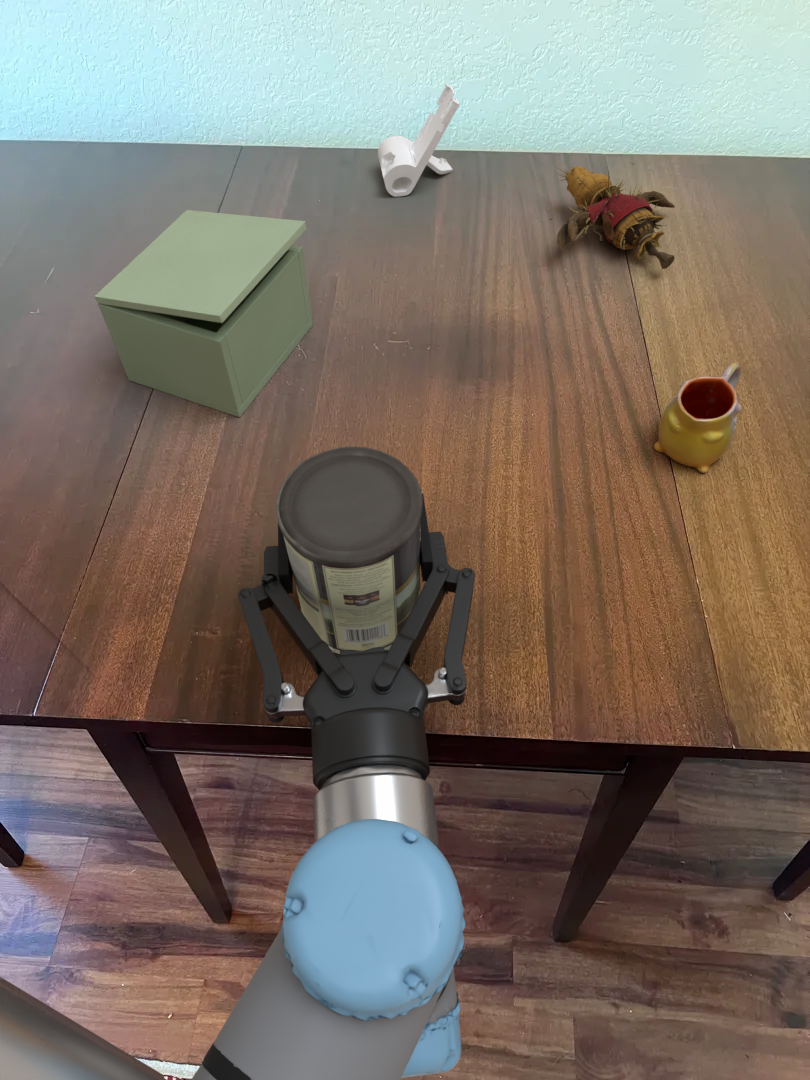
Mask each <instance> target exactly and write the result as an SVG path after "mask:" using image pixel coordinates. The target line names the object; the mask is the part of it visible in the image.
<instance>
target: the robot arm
mask: <svg viewBox="0 0 810 1080" xmlns="http://www.w3.org/2000/svg"><path fill="white" fill-rule="evenodd" d="M422 501H423V503H422V514H421V518H420V535H421V536H420V538H421V539H420V574H421V579H422V583H424V585H423V586H422V589H421V590H420V595H419V597H418V599H417V601H416V602H415V604H414V606H413V608H412V610H411V612H410V614H409V616H408V618H407V620H406V622H405V624H404V626H403V628H402V630H401V632H400V633H399V634H397V636H396V638H395V639H394V641H393V643H392V645H391V647H390V649H389V650H384V647H374V648H371V649H368V650H365V651H356V650H342V651H340V654H336V653H334V652H332V650H331V649H330V648H329V646H328V645H327V644H326V642H325V641H323V640H322V639H321V638H320V637H319V635H318V634H317V633H316V631H315V630H314V628H313V627H312V626H311V624H310V623H309V622H308V620H307V619H306V618H305V616H304V615H303V614H302V612H301V609H300V608H299V607H298V606H297V604H296V602H295V601H294V600H293V598H292V597H291V596H290V595H291V594H294V577H293V572H292V568H291V564H290V560H289V556H288V552H287V548H286V544H285V540H284V536H283V534H282V531H281V529H280V526H279V524H278V523H277V545H271V546H269V545H268V546H266V548H265V549H264V551H263V575H262V576H261V578H260V582H261V583H260V584H259V585H257V586H256V587H253V588H251V587H249V586H248V587H242V588H241V589H240V590H239V591H238V593H237V598H238V602H239V604H240V607H241V610H242V613H243V617H244V620H245V623H246V626H247V629H248V633H249V634H250V639H251V641H252V645H253V647H254V648H253V649H254V650H255V653H256V657H257V660H258V663H259V667H260V668H261V672H262V675H263V687H262V688H263V689H262V705H263V709H264V710H265V713H266V716H267V719H268V720H269V721H270V722H272V723H274V724H278V723H279V724H280V723H281V722H282V721H284V719H285V717H303V716H304V717H305V718H306V719H307V720H308V722H309V725H310V735H311V762H312V763H311V764H312V765H311V767H312V768H311V769H312V784H313V785H314V786H315V787H316V789H317V790H318V791H317V792H316V793H315V795H314V796H313V800H312V802H313V803H312V804H313V806H312V807H313V828H314V829H313V830H314V831H313V834H314V835H313V836H314V843H313V844H312V845H311V846H310V847H309V848H308V849H307V850H306V852H305V853H304V854H303V855H302V857H301V858H300V860H298V863H297V864H296V866H295V867H294V870H293V872H292V874H291V877H290V879H289V882H288V885H287V887H286V892H285V900H284V904H283V909H282V918H283V919H282V924H281V926H280V930H279V931H278V933H277V935H276V937H275V938H274V940H273V942H272V943H271V945H270V947H269V948H268V949H267V952H266V954H265V955H264V957H263V958H262V960H261V962H260V964H259V965H258V966H257V969H256V971H255V972H254V973H253V975H252V977H251V978H250V980H249V982H248V984H247V985H246V987H245V989H244V990H243V992H242V994H241V995H240V996H239V999H238V1001H237V1003H236V1004H235V1006H234V1007H233V1009H232V1011H231V1012H230V1014H229V1015H228V1018H227V1019H226V1020H225V1022H224V1024H223V1026H222V1027H221V1029H220V1031H219V1033H218V1035H217V1036H216V1038H215V1039H214V1041H213V1042H212V1044H211V1045H210V1047H209V1049H208V1051H207V1052H206V1053H205V1055H204V1057H203V1059H202V1061H201V1064H200V1065H199V1067H198V1069H197V1070H196V1071H195V1073H194V1074H193V1076H192V1077H191V1079H190V1080H401V1079H404V1078H405V1079H406V1078H413V1077H421V1076H422V1077H423V1076H428V1075H435V1074H442V1073H446V1072H449V1071H451V1070H453V1068H454V1067H456V1065H457V1064H458V1062H459V1061H460V1059H461V1054H462V1040H461V1039H462V1038H461V1037H462V1036H461V1025H460V1013H461V1007H462V1006H461V1003H460V998H459V993H458V991H457V986H456V985H457V984H456V976H455V969H454V966H455V964H456V963H457V962H458V960H459V958H461V957H462V953H463V948H464V945H465V937H464V936H465V935H464V930H465V928H466V927H467V925H466V921H465V917H464V912H465V909H464V906H463V898H462V896H461V893H460V888H459V885H458V880H457V879H456V876H455V874H454V871H453V869H452V867H451V865H450V863H449V861H448V860H447V858H446V857H445V856H444V854H443V852H442V851H441V850H440V849H441V848H440V841H439V840H440V839H439V833H438V825H437V824H438V823H437V817H436V808H435V798H434V792H433V791H434V790H433V787H432V785H431V784H430V783H429V782H428V781H427V778H428V777H429V775H430V772H431V767H430V758H429V750H428V741H427V733H426V732H427V731H426V725H425V724H426V723H425V713H426V710H427V708H428V705H429V704H433V703H440V702H445V701H446V702H447V701H448V702H449V703H450V704H451V705H453V706H460V705H462V704H463V703H464V701H465V700H466V691H467V683H468V682H467V676H466V673H465V669H464V664H463V656H464V650H465V644H466V637H467V632H468V626H469V621H470V613H471V607H472V601H473V595H474V587H475V579H476V573H475V571H474V570H473V569H472V568H470V567H463V568H461V569H457V568H454V567H453V566H451V565H450V564H449V560H448V555H447V548H446V541H445V536H444V535H443V533H442V532H441V531H429V530H430V529H429V525H428V517H427V511H426V503H425V496H424V492H423V493H422ZM449 593H453V594H454V598H453V604H452V610H451V616H450V621H449V626H448V631H447V638H446V643H445V647H444V648H445V649H444V658H443V666H441V667H439V668H438V669H436V670H435V672H434V674H433V679H432V681H430V682H429V683H428V684H426V683H425V682H424V681H423V679H421V678H420V677H419V676H418V675H417V674H416V672H415V671H413V670H412V669H411V668H412V666H413V665H414V661H415V658H416V655H417V653H418V650H419V648H420V647H421V645H422V643H423V641H424V639H425V637H426V635H427V633H428V630H429V628H430V627H431V625H432V622H433V620H434V619H435V617H436V615H437V613H438V610H439V608H440V606H441V605H442V602H443V600H444V598H445V597H446V595H448V594H449ZM269 608H270V610H271V611H272V612H273V614H274V615H275V617H276V618H277V619H278V621H279V622H280V623H281V625H282V626H283V628H284V629H285V630H286V632H287V633H288V635H289V636H290V637H291V639H292V640H293V642H294V643H295V644H296V646H297V647H298V648H299V650H300V651H301V653H302V654H303V656H304V657H305V658H306V660H307V661H308V663H309V664H310V665H311V668H312V669H313V671H314V672H315V674H316V676H317V677H316V679H315V680H314V681H313V682H312V683H311V686H310V687H309V688H308V690H307V691H306V693H305V694H304V695H303V696H302V695H299V694H298V693H297V692H296V688H295V686H294V685H293V683H290V682H285V679H284V676H283V673H282V669H281V666H280V663H279V660H278V658H277V654H276V652H275V648H274V646H273V643H272V640H271V637H270V634H269V631H268V628H267V626H266V623H265V620H264V616H263V614H262V611H265V610H267V609H269ZM0 1080H167V1078H165V1076H164V1075H163V1073H161V1072H159V1071H158V1070H156V1069H154V1068H153V1067H151V1066H150V1065H149V1064H146V1063H145V1062H143V1061H141V1060H139V1058H136V1057H135V1056H133V1055H131V1054H129V1053H128V1052H126V1051H124V1050H123V1049H121V1048H119V1047H118V1046H116V1045H115V1044H113V1043H111V1042H110V1041H108V1040H106V1039H105V1038H103V1037H101V1036H99V1035H98V1034H96V1033H95V1032H93V1031H91V1030H90V1029H88V1028H87V1027H84V1025H81V1024H80V1023H79V1022H76V1021H75V1020H73V1019H72V1018H70V1017H68V1016H66V1015H65V1014H63V1013H61V1012H60V1011H59V1010H57V1009H55V1008H53V1007H51V1006H50V1005H48V1004H46V1003H45V1002H43V1001H42V1000H40V999H38V998H36V997H35V996H33V995H31V993H28V992H26V991H25V990H23V989H21V988H20V987H18V986H16V985H15V984H13V983H12V982H10V981H8V980H7V979H5V978H3V977H2V976H0Z"/></svg>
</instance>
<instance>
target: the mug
mask: <svg viewBox="0 0 810 1080" xmlns="http://www.w3.org/2000/svg"><path fill="white" fill-rule="evenodd" d="M741 374H742V366H741V364H740V363H739V362H737V361H736V362H735V361H734V362H731V363H730V364H728V365H727V366H726V368H725V369H724V371H723V372H722V374H721V375H720V376H718V377H716V376H699V377H694V378H691V379H688V380H686V381H684V382H683V383H682V385H681V386H680V389H679V391H678V393H677V394H676V395H675V396H673V397H672V399H671V401H670V402H669V403H668V404H667V405H666V407H665V408H664V410H663V412H662V415H661V417H660V421H659V425H658V429H657V431H658V432H657V437H658V440H657V441H656V442H655V443H654V445H653V448H654V450H655V451H656V452H657V453H664V454H665V455H666V456H667V457H669V458H670V459H671V460H673V461H674V462H676V463H678V464H680V465H683V466H687V467H691V468H694V469H696V470H697V471H699V472H700V473H702V474H706V473H707V472H709V470H710V466H711V465H712V464H714V463H715V462H717V461H718V460H719V459H720V458H722V457H723V456H724V454H726V452H727V451H728V449H729V448H730V446H731V444H732V442H733V440H734V435H735V432H736V429H737V426H736V424H737V420H738V417H736V416H737V415H739V413H741V411H742V407H743V406H742V404H741V403H739V400H738V397H737V392H736V390H735V388H736V386H737V384H738V382H739V380H740V378H741Z"/></svg>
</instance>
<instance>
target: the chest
mask: <svg viewBox="0 0 810 1080" xmlns="http://www.w3.org/2000/svg"><path fill="white" fill-rule="evenodd" d="M309 292H310V291H309V285H308V278H307V270H306V265H305V255H304V250H303V247H302V246H299V245H295V244H293V245H292V246H291V247H290V248H289V249H288V250H287V251H286V252H285V254H284V255H283V256H282V257H281V258H280V259H279V260H278V261H277V263H276V264H275V265H274V266H273V267H272V268H271V269H270V270H269V271H268V273H267V274H266V275H265V276H264V277H263V278H262V279H261V280H260V282H259V283H258V284H257V285H256V286H255V287H254V288H253V289H252V290H251V292H250V293H249V294H248V295H247V296H246V297H245V298H244V299H243V301H242V302H241V303H240V304H239V305H238V306H237V307H236V308H235V309H234V311H233V312H232V313H231V314H230V315H229V316H228V317H227V318H226V320H225V321H224V322H223V323H219V322H212V321H206V320H200V319H194V318H187V317H181V316H175V315H169V314H162V313H156V312H150V311H144V310H137V309H131V308H125V307H119V306H112V305H106V304H100V303H98V302H97V304H98V308H99V310H100V312H101V315H102V317H103V320H104V323H105V325H106V328H107V330H108V333H109V335H110V337H111V340H112V342H113V344H114V347H115V350H116V352H117V355H118V357H119V360H120V362H121V364H122V367H123V369H124V372H125V374H126V377H127V379H128V381H130V382H132V383H135V384H138V385H142V386H145V387H147V388H151V389H154V390H156V391H160V392H163V393H166V394H168V395H171V396H174V397H177V398H180V399H183V400H186V401H189V402H192V403H195V404H198V405H201V406H205V407H208V408H211V409H213V410H215V411H219V412H222V413H224V414H227V415H231V416H234V417H237V418H241V417H242V415H243V414H244V413H245V412H246V411H247V409H248V408H249V407H250V406H251V404H252V403H253V401H254V400H255V399H256V398H257V396H258V395H259V394H260V393H261V391H262V390H263V389H264V388H265V386H266V385H267V384H268V382H269V381H270V380H271V379H272V377H273V376H274V375H275V374H276V372H277V371H278V370H279V369H280V367H281V366H282V365H283V364H284V362H285V361H286V360H287V359H288V357H289V356H290V354H291V353H292V352H293V351H294V350H295V349H296V347H297V346H298V345H299V343H300V342H301V341H302V339H303V338H304V337H305V336H306V335H307V333H308V332H309V331H310V330H311V328H312V327H313V325H314V323H313V315H312V308H311V307H312V306H311V300H310V293H309Z"/></svg>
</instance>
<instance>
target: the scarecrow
mask: <svg viewBox="0 0 810 1080" xmlns="http://www.w3.org/2000/svg"><path fill="white" fill-rule="evenodd" d="M629 164H632V165H633V166H635V163H634V162H631V161H630V162H629ZM554 168H556V169H557V170H559V171H561V174H559V173H557V175H558V176H560V177H562V178H564V179H561V180H559V181H561V182H562V181H566V182H567V186H566V191H567V192H569V193H570V194H571V196H572V197H573V199H574V202H575V204H576V206H577V210H578V211H577V210H574V209H572V208H571V207H570V206H568V209H569V210H570V211H571V212H572V213H574V214H572V215H571V216H570V218H569V219H568V220H567V221H566V223H563V225H561V227H560V228H559V231H558V233H557V236H556V243H557V244H558V245H557V246H558V247H559V249H560V250H561V251H562V250H563V249H564V246H566V245H569V244H570V243H571V242H574V241H575V240H577V239H578V238H579V237H581V235H582V234H583V233H584V235H586V234H587V231H588V230H589V229H588V228H590V227H592V229H593V231H592V232H590V234H593V232H594V233H596V234H597V235H599V241H601V242H603V241H604V237H605V239H606V240H607V241H608V242H609V243H610V244H611V245H613V246H614V247H615V248H618V249H621V250H623V251H625V250H633V249H635V248H638V247H639V248H638V250H637V252H636V256H637V259H638V260H641V259H644V258H645V255H646V254H648V256H650V257H652V258H654V257H655V258H657V260H658V261H659V264H660V267H661V269H662V270H665V269H667V268H669V267H670V266H671V265H672V264H673V263H674V262H675V255H674V254H669V253H667V252H664V251H659V250H658V249H657V248H661V246H660V241H659V239H660V238H662V236H663V235H665V232H664V231H662V230H660V229H661V228H660V227H666V226H667V224H661V223H660V222H661V221H663V220H665V219H664V218H665V216H661V215H659V216H658V215H654V214H655V213H657V212H661V210H662V208H669V209H670V208H671V209H674V208H676V205H675V204H674V203H672V202H671V201H669V200H668V198H667V197H666V196H665V195H664V194H663V193H662V192H659V191H656V190H652V191H645V192H644V191H643V190H641V188H642V185H641V187H640V188H639V189H638V191H637V193H636V189H637V185H638V184H636V185H635V187H634V189H633V192H632V188H630V189H629V193H628V194H627V193H622V191H624V190H626V188H623V187H624V185H625V184H626V182H627V181H628V179H626V181H625V182H624V181H623V180H624V179H622V180H621V182H619V185H618V183H616V184H615V185H614V184H613V183H612V180H611V178H610V174H605V173H599V172H597V173H595V172H593V171H592V172H591V171H590V170H588V169H586V168H585V167H582V166H578V165H577V166H573V167H571V168H570V170H569V171H567V170H566V168H565V167H563V168H564V170H563V169H562V168H558V167H554ZM617 185H618V186H617ZM621 188H623V189H621ZM550 205H551V204H549V205H548V207H547V209H546V211H547V212H548V211H549V209H550ZM652 206H654V209H656V208H657V207H658V208H661V209H658V210H655V211H654V210H653V208H652ZM551 220H552V218H549V221H551ZM657 223H660V224H657ZM598 227H602V233H601V232H600V231H598V230H597V228H598ZM655 229H657V230H660V231H657V232H656V231H655ZM603 234H604V235H603Z"/></svg>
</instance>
